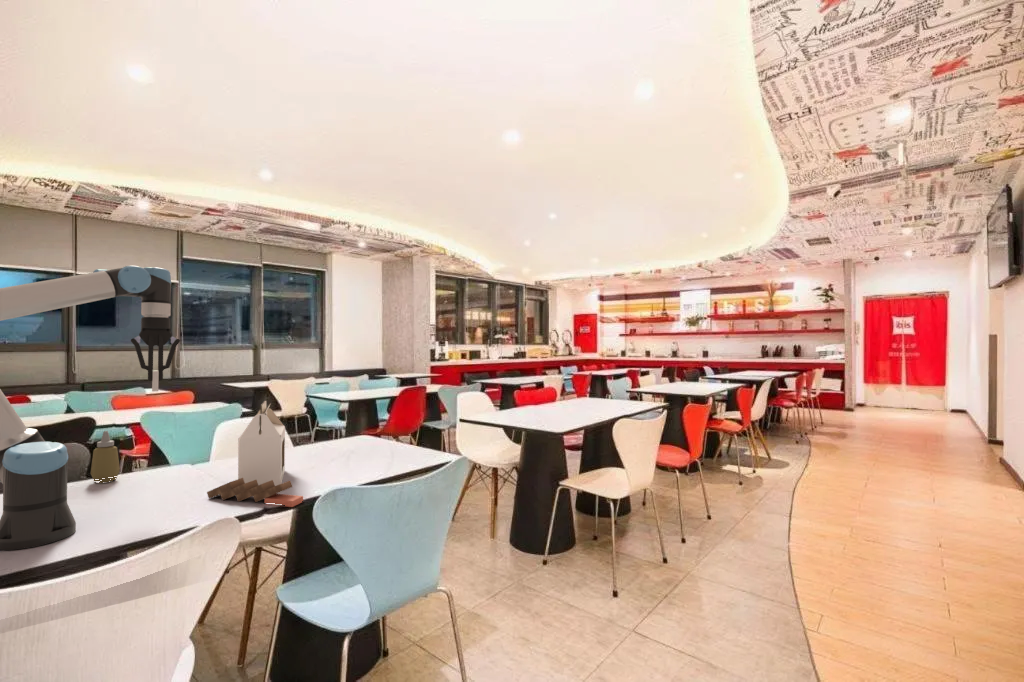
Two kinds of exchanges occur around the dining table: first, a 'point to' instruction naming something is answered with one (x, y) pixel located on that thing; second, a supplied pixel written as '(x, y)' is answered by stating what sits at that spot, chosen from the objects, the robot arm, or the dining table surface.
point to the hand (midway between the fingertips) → (155, 391)
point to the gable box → (262, 449)
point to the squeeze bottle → (105, 460)
